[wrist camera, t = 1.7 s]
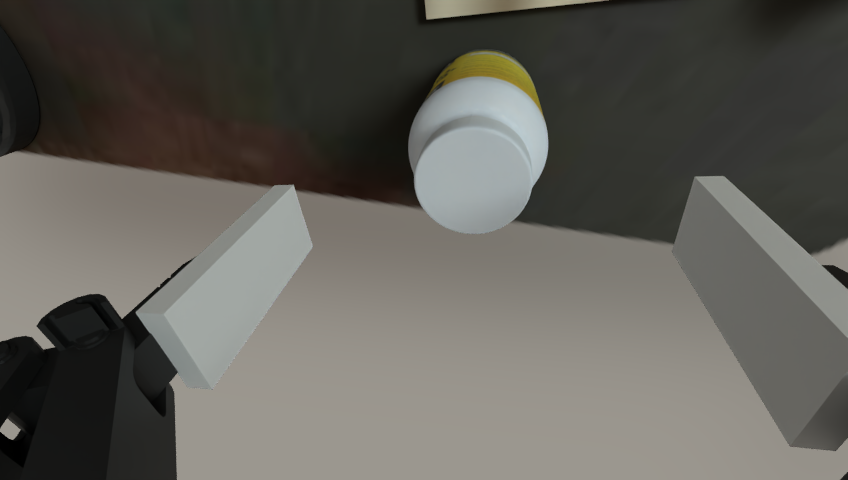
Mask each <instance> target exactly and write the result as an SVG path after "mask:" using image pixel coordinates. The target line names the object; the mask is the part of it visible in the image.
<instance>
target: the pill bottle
mask: <svg viewBox="0 0 848 480" xmlns="http://www.w3.org/2000/svg"><path fill="white" fill-rule="evenodd" d="M408 153H409V160H410V164H411V168H412V171H413V173H414V186H415V191H416V195H417V198H418V200H419V203H420V204H421V206H422V208H423V209H424V210H425V212H426V213H427V214H428V215H429V216H430V217H431V218H432V219H433V220H434V221H436V222H437V223H438V224H440V225H442V226H444V227H446V228H447V229H450V230H453V231H456V232H460V233H467V234H482V233H488V232H491V231H494V230H497V229H499V228H502V227H503V226H505V225H507V224H509V223H510V222H511V221H513V220H514V219H515V218H516V217H517V216H518V215H519V214H520V213H521V211H522V210H523V209H524V207H525V205H526V203H527V202H528V200H529V197H530V194H531V190H532V187H533V186H534V184H535V183H536V181H537V180H538V178H539V176H540V175H541V173H542V170H543V168H544V165H545V162H546V158H547V153H548V134H547V128H546V124H545V120H544V117H543V113H542V110H541V106H540V103H539V100H538V97H537V94H536V91H535V87H534V84H533V82H532V79H531V77H530V75H529V73H528V72H527V70H526V69H525V68H524V67H523V65H522V64H521V63H520V62H519V61H517V60H516V59H515V58H513V57H512V56H510V55H508V54H506V53H504V52H501V51H497V50H492V49H479V50H474V51H470V52H467V53H465V54H462V55H460V56H459V57H457V58H456V59H454V60H453V61H452V62H450V63H449V64H448V65H447V66H446V67H445V68H444V69H443V71H442V72H441V73H440V74H439V76H438V78H437V79H436V81H435V83H434V85H433V87H432V88H431V90H430V92H429V94H428V96H427V97H426V99H425V101H424V102H423V104H422V105H421V107H420V109H419V111H418V113H417V114H416V117H415V119H414V121H413V124H412V126H411V130H410V135H409V142H408Z"/></svg>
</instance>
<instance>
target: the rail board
mask: <svg viewBox="0 0 848 480" xmlns="http://www.w3.org/2000/svg"><path fill="white" fill-rule="evenodd" d="M597 1H607V0H425V8H426V20H427V19H436V18H446V17H455V16H465V15H474V14H484V13H493V12H502V11H512V10H521V9H531V8H540V7H550V6H559V5H569V4H578V3H588V2H597Z"/></svg>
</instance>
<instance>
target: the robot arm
mask: <svg viewBox="0 0 848 480" xmlns="http://www.w3.org/2000/svg"><path fill="white" fill-rule="evenodd" d="M38 126H39V105H38V100H37V95H36V92H35V88H34V85H33V82H32V80H31V77H30V75H29V73H28V70H27V68H26V66H25V64H24V62H23V60H22V58H21V57H20V55H19V53H18V51H17V50H16V48H15V46H14V45H13V43H12V42H11V40H10V39H9V37H8V36H7V34H6V33H5V31H4V30H3V29H2V27H1V26H0V157H1V156H4V155H7V154H9V153H12V152H15V151H18V150H20V149H22V148H24V147H26V146H27V145H28V144H29V143H30V142H31V141H32V140H33V139H34V137H35V135H36V133H37V130H38ZM312 248H313V245H312V242H311V239H310V236H309V232H308V230H307V226H306V223H305V220H304V217H303V213H302V210H301V207H300V204H299V201H298V198H297V194H296V191H295V188H294V185H274V186H273V187H272V188H271V189H270V190H269V191H268V192H267V193H266V194H265V195H264V196H262V197H261V198H260V199H259V200H258V201H257V202H256V203H255V204H254V205H253V206H251V207H250V208H249V209H248V210H247V211H246V212H245V213H244V214H243V215H242V216H240V217H239V218H238V219H237V220H236V221H235V222H234V223H233V224H232V225H231V226H230V227H228V228H227V229H226V230H225V231H224V232H223V233H222V234H221V235H220V236H219V237H217V238H216V239H215V240H214V241H213V242H212V243H211V244H210V245H209V246H208V247H206V248H205V249H204V250H203V251H202V252H201V253H200V254H199V255H198V256H196V257H195V258H193V259H192V260H190V261H188V262H186V263H185V264H183V265H182V266H181V267H180V268H178V270H176V271H175V272H174V273H173V274H172V275H171V278H167V279H166V280H165V281H164V282H163V283H162V284H161V285H160V287H157V288H156V289H155V290H154V291H153V292H152V293H151V294H150V295H148V296H147V297H146V298H145V299H144V300H143V301H142V302H141V303H139V304H138V305H137V306H136V307H135V308H134V309H133V310H132V311H131V312H130V313H129V314H127V315H126V316H125V317H124V318H123V319H121V317H120V316H119V315H118V313H117V312H116V311H115V309H114V308H113V307H112V305H111V304H110V302H109V301H108V300H107V298H106V297H105V296H103V295H100V294H89V295H86V296H81V297H78V298H75V299H73V300H70V301H68V302H66V303H63V304H62V305H60V306H58V307H57V308H55V309H53V310H52V311H50V312H49V313H48V314H47V315H46V316H45V317H43V318H42V319H41V320H40V322H39V323H38V325H37V327H38V328H39V329H40V331H42V333H43V334H44V335H45V336H46V337H47V338H48V339H49V340H50V341H51V342H52V344H53V345H54V346H55V348H50V349H45V350H43V349H42V348H41V346H40V345H39V344H38V343H37V342H36V341H35V340H34V339H33V338H32V337H27V336H22V337H15V338H12V339H9V340H6V341H1V342H0V428H1V426H2V425H3V423H4V422H5V420H6V419H7V418H8V419H9V420H10V421H11V422H12V423H14V424H15V425H16V426H17V427H18V428H19V429H21V430H20V432H19V434H18V435H17V437H16V438H15V439H14V440H11V439H8V438H7V437H6V436H5V435H3V434H2V433H1V432H0V480H177V472H176V442H175V441H176V437H175V405H174V404H175V403H174V391H173V389H172V387H171V385H170V384H169V382H170V381H171V380H172V379H173V377H174V376H175V375H176V374H177V373H178V374H179V376H180V377H181V379H182V380H183V381H184V383H185V384H186V386H187V387H191V388H202V389H211V390H212V389H213V388H214V386H215V385H216V384H217V382H218V381H219V379H220V378H221V376H222V375H223V374H224V372H225V371H226V369H227V368H228V367H229V365H230V364H231V362H232V361H233V360H234V358H235V357H236V355H237V354H238V352H239V351H240V350H241V348H242V347H243V345H244V344H245V343H246V341H247V340H248V338H249V337H250V335H251V334H252V332H253V331H254V330H255V328H256V327H257V326H258V324H259V322H260V321H261V320H262V318H263V317H264V316H265V314H266V313H267V311H268V310H269V309H270V307H271V306H272V304H273V303H274V301H275V300H276V299H277V297H278V296H279V294H280V293H281V292H282V290H283V289H284V287H285V286H286V284H287V283H288V282H289V280H290V279H291V277H292V276H293V274H294V273H295V272H296V270H297V269H298V267H299V266H300V264H301V263H302V262H303V260H304V259H305V257H306V256H307V254H308V253H309V252H310V250H311V249H312ZM672 253H673V255H674V256H675V258H676V259H677V261H678V263H679V264H680V266H681V268H682V269H683V271H684V273H685V274H686V276H687V278H688V279H689V281H690V282H691V284H692V286H693V287H694V289H695V290H696V292H697V294H698V296H699V297H700V299H701V301H702V302H703V304H704V306H705V307H706V309H707V311H708V312H709V314H710V316H711V317H712V319H713V320H714V322H715V324H716V325H717V327H718V329H719V330H720V332H721V334H722V335H723V337H724V339H725V340H726V342H727V344H728V345H729V347H730V349H731V350H732V352H733V353H734V355H735V356H736V358H737V360H738V361H739V363H740V365H741V367H742V368H743V370H744V371H745V373H746V375H747V377H748V378H749V380H750V382H751V383H752V385H753V386H754V388H755V390H756V391H757V393H758V395H759V396H760V398H761V400H762V401H763V403H764V405H765V406H766V408H767V410H768V411H769V413H770V414H771V416H772V418H773V419H774V421H775V423H776V424H777V426H778V428H779V429H780V431H781V433H782V434H783V436H784V438H785V439H786V441H787V443H788V444H789V446H791V447H801V448H811V449H821V450H832V451H836V450H837V449H838V448H839V447H840V446H841V445H842V444H843V442H844V441H845V440H846V439H847V438H848V273H847V272H845V271H843V270H841V269H839V268H838V267H836V266H833V265H820V264H819V263H818V262H817V261H816V260H815V259H814V258H813V257H812V256H811V255H810V254H808V253H807V252H806V251H805V250H804V249H803V248H802V247H801V246H800V245H799V244H798V243H796V242H795V241H794V240H793V239H792V238H791V237H790V236H789V235H788V234H787V233H785V232H784V231H783V230H782V229H781V228H780V227H779V226H778V225H777V224H776V223H775V222H773V221H772V220H771V219H770V218H769V217H768V216H767V215H766V214H765V213H764V212H763V211H761V210H760V209H759V208H758V207H757V206H756V205H755V204H754V203H753V202H752V201H750V200H749V199H748V198H747V197H746V196H745V195H744V194H743V193H742V192H741V191H740V190H738V189H737V188H736V187H735V186H734V185H733V184H732V183H731V182H730V181H729V180H727V179H726V178H725V177H724V176H708V177H695V178H694V181H693V184H692V188H691V191H690V194H689V197H688V201H687V204H686V207H685V211H684V214H683V217H682V220H681V224H680V227H679V230H678V234H677V237H676V240H675V243H674V247H673V250H672ZM841 480H848V472H847V473H846V474H845V475H844V476H843V477H842V479H841Z"/></svg>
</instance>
